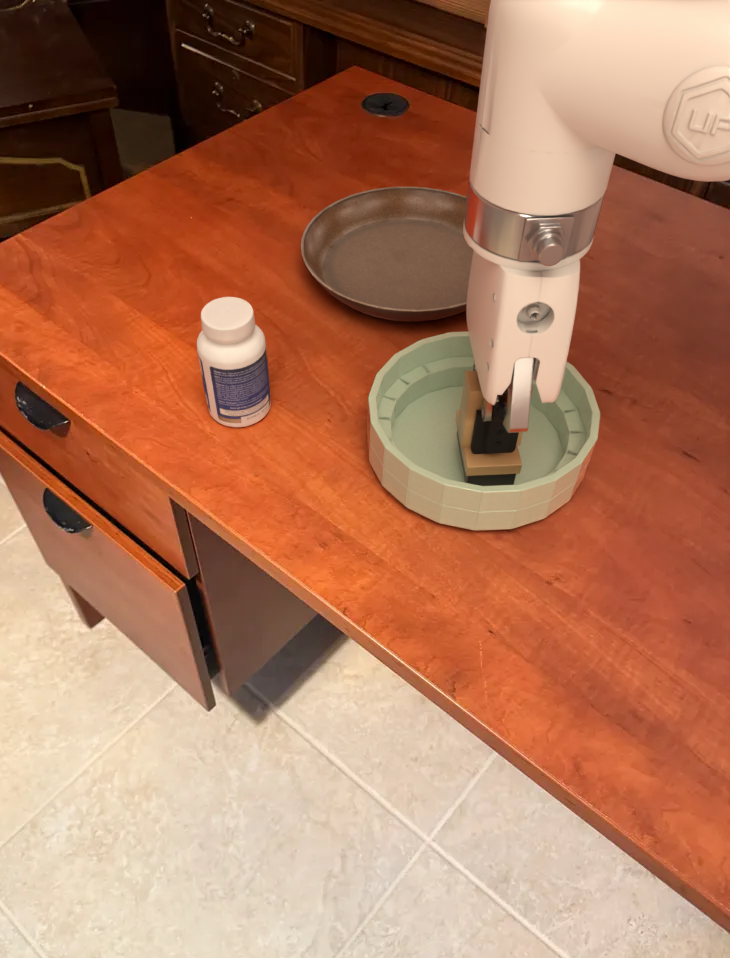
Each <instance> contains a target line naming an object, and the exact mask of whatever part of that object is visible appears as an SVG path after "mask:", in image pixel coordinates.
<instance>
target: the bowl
mask: <svg viewBox="0 0 730 958" xmlns="http://www.w3.org/2000/svg"><path fill="white" fill-rule="evenodd" d="M473 362H474V356H473V352H472V347H471V342H470V337H469V332H468V330H467V331H466V330H465V331H451V332H450V331H449V332H444V333H441V334H436V335H434V336H429V337H426V338H422V339H419V340H417V341H416V342H414V343H412V344H410V345H408V346H407V347H404V348H403V349H401V350H399V351H397V352H396V353H394V354H393V355H392V356H391V357H390V358H389V360H388V361H386V363H385V364H384V365H383V366H382V367H381V368H380V369H379V371H377V372H376V374H375V377H374V378H373V379H374V380H373V383H372V385H371V387H370V391H369V393H368V397H367V417H366V442H367V443H366V444H367V454H368V455H367V456H368V462H369V464H370V466H371V467H372V469H373V472H374V473H375V475H376V477H377V479H378V481H379V482H380V484H381V487H383V488H384V489H385V490H386V491H387V492H389V493H390V495H392V496H393V497H394V498H395V499H396V500H397V501H398V502H399V503H401V504H402V505H403V506H404V507H405V508H406V509H409V510H410V511H413V512H415V513H416V514H419V515H420V516H423V517H424V518H427V519H429V520H431V521H433V522H435V523H438V524H440V525H446V526H450V527H456V528H460V529H465V530H469V531H475V532H477V531H498V530H499V531H501V530H513V529H516V528H519V527H523V526H525V525H529V524H532V523H535V522H539V521H543V520H544V519H546V518H548V516H550V515H551V514H553V513H554V512H555V511H558V509H560V508H561V507H562V506H564V505H565V504H567V503H568V502H569V501H570V500H572V499H571V498H572V497H573V496H574V494H575V492H576V491H577V490H578V488H579V486H580V485H581V483H582V481H583V480H584V478H585V475H586V472H587V470H588V467H589V464H590V461H591V458H592V455H593V452H594V449H595V447H596V444H597V441H598V439H599V438H598V437H599V430H600V422H601V411H600V408H599V405H598V402H597V399H596V395H595V393H594V390H593V388H592V386H591V384H589V382H587V380H586V378H584V376H583V375H582V374H581V373H580V372H579V371H578V370H577V368H576V367H575V366H574V365H573V364H572V363H570V362H569V361H568V360H567V361H566V366H565V371H564V376H563V380H562V385H561V389H560V393H559V396H558V397H557V399H556V400H555V401H554V402H553V403H542V402H541V398H540V395H539V392H538V388H537V385H536V382H535V380H532V387H533V392H532V396H531V401H530V413H529V424H528V431H527V432H523V435H522V440H521V444H520V445H517V446H518V450H519V454H520V458H521V462H522V467H521V471H520V474H516V477H515V481H514V485H497V486H479V485H474V484H469V483H465V477H464V472H463V466H462V461H461V455H460V450H459V445H458V439H457V424H456V412H457V410H460V406H461V398H462V391H463V384H464V377H465V371H473Z"/></svg>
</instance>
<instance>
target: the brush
mask: <svg viewBox="0 0 730 958" xmlns="http://www.w3.org/2000/svg"><path fill="white" fill-rule="evenodd" d="M532 392H533V387H532V389H531V396H532ZM507 396H508V395H500V396H498V398H499V402H496V403H506V402H507ZM482 403H483V394H482V391H481V387H480V383H479V379H478V374H477V370H476V371H465V377H464V384H463V391H462V398H461V406H460V410H457V412H456V424H457V439H458V445H459V450H460V455H461V461H462V466H463V472H464V477H465V483H469V484H474V485H479V486H497V485H514V481H515V477H516V474H520V471H521V467H522V462H521V458H520V454H519V450H518V446H517V445H520V444H521V440H522V435H523V432H519V435H518V439H517V444H516V448H515V450H514V451H513V452H511V453H493V454H473V453H472V450H471V442H472V436H473V430H474V424H475V417H476V411H477V410H482Z"/></svg>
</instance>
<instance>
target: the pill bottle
mask: <svg viewBox="0 0 730 958" xmlns="http://www.w3.org/2000/svg"><path fill="white" fill-rule="evenodd" d="M200 322H201V331H200V332H199V334H198V336H197V339H196V340H197V341H196V353H197V358H198V363H199V368H200V369H199V370H200V374H201V379H202V385H203V390H204V396H205V401H206V405H207V410H208V413H209V415H210V416H211V418H212V419H213V420H215V421H216V422H217V423H218V424H221V425H222V426H225V427H228V428H229V427H230V428H245V427H250V426H252V425H254V424H257V423H258V422H260V421H262V419H264V418H265V417H266V415H268V414H269V412H270V410H271V406H272V398H271V395H272V394H271V385H270V372H269V363H268V361H269V360H268V352H267V344H266V343H267V341H266V337H265V333H264V332H263V330H262V328H261V327H259V326H258V325H257V324H256V320H255V312H254V308H253V305H251V304H250V303H249V302H248V301H247V300H245V299H243V298H241V297H237V296H223V297H218V298H215V299H211V301H209V302H207V303H206V304H205V305H204V306H203V307H202V309H201V311H200Z"/></svg>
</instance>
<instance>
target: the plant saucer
mask: <svg viewBox="0 0 730 958" xmlns="http://www.w3.org/2000/svg"><path fill="white" fill-rule="evenodd" d="M466 201H467V195H462V194H460V193H456V192H453V191H448V190H443V189H438V188H432V187H425V186H388V187H379V188H372V189H368V190H365V191H360V192H356V193H353V194H350V195H347V196H345V197H342V198H341V199H338V200H336V201H334V202H333V203H331V204H329V205H327V206H325V207H324V208H323V209H322V210H321V211H319V212H318V213H317V214H316V215H315V216H313V217H312V219H311V220H310V221H309V223H308V224H307V225H306V227H305V229H304V231H303V233H302V236H301V240H300V241H301V242H300V252H301V257H302V259H303V263H304V264H305V266H306V268H307V270H308V271H309V273H310V274H311V276H313V278H314V280H315V281H316V282H317V283H318V284H319V286H321V288H323V289H324V290H325V291H326V292H327V293H328V294H329V295H331V296H332V297H334V298H335V299H336V300H338V301H339V302H341V303H342V304H343V305H346V306H347V307H350V308H351V309H353V310H355V311H357V312H361V313H363V314H366V315H369V316H372V317H375V318H379V319H384V320H389V321H395V322H426V321H435V320H440V319H444V318H448V317H451V316H455V315H457V314H461V313H463V312H466V306H467V293H468V284H469V277H470V270H471V263H472V257H473V251H474V250H473V249H472V248H471V247H470V246H469V245H468V243H467V242H466V240H465V238H464V234H463V225H464V218H465V210H466Z"/></svg>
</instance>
